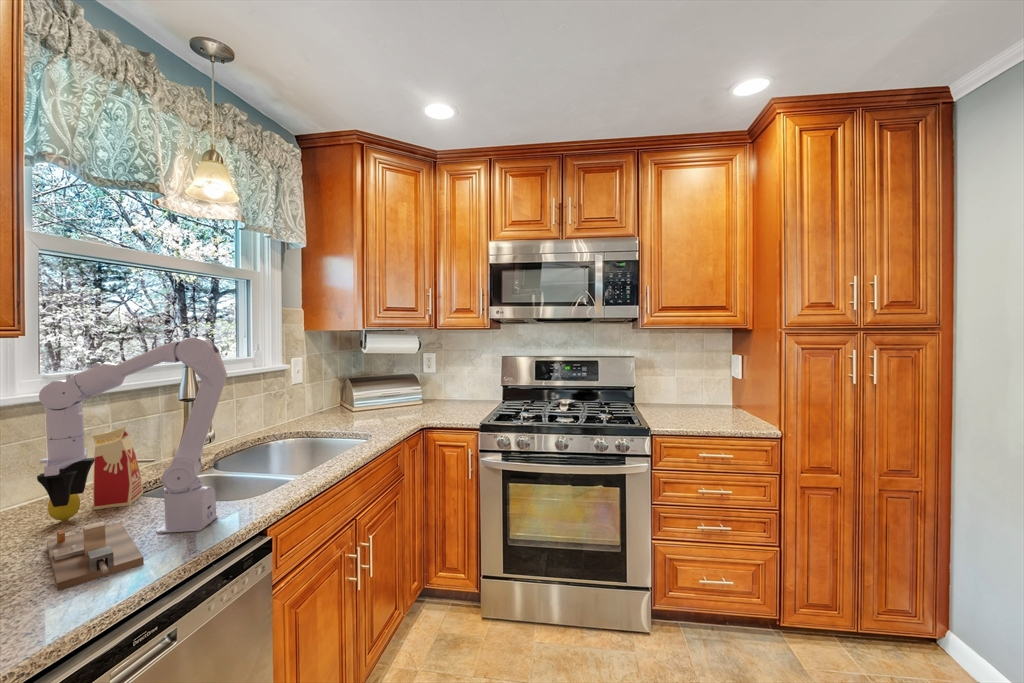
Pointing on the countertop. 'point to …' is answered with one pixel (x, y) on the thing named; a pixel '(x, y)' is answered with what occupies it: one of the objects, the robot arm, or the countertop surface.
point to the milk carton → (115, 470)
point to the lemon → (65, 509)
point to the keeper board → (80, 561)
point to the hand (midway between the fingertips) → (69, 499)
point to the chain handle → (89, 543)
